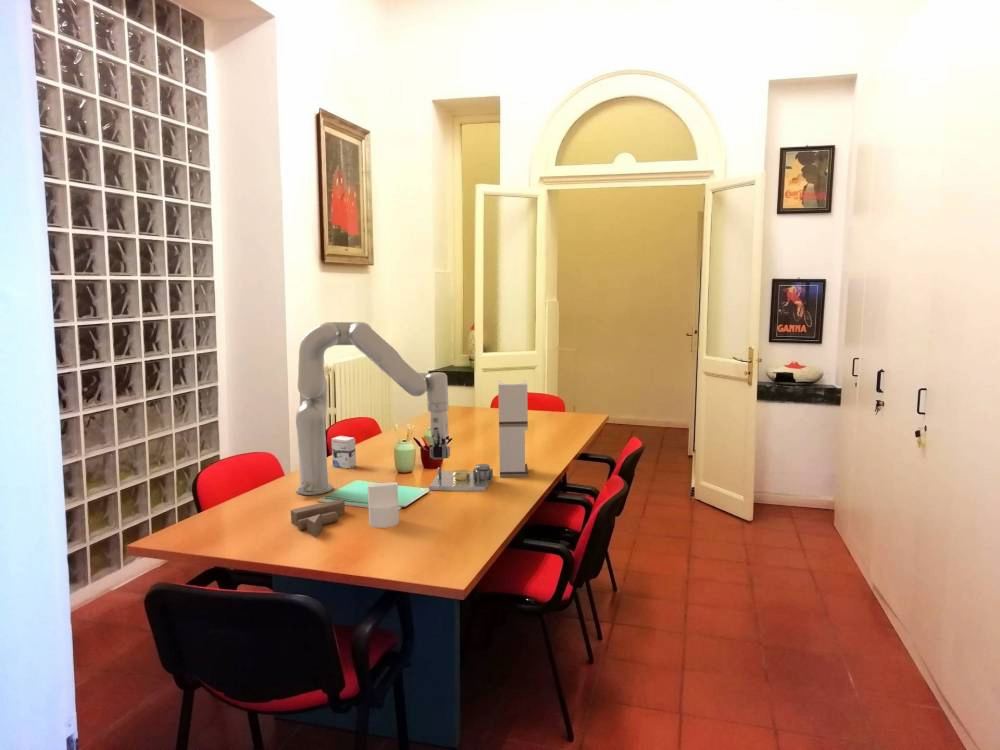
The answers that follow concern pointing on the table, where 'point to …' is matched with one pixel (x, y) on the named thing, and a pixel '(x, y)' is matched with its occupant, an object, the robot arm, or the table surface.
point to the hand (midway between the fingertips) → (439, 454)
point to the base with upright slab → (383, 504)
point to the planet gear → (444, 451)
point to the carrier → (463, 479)
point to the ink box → (343, 452)
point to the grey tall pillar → (512, 429)
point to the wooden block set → (317, 516)
